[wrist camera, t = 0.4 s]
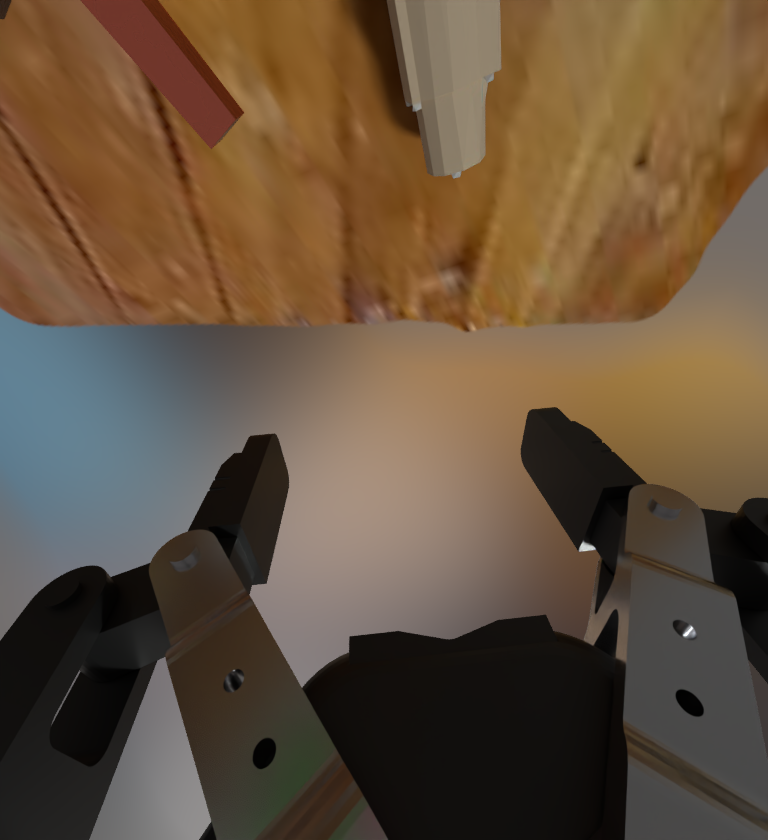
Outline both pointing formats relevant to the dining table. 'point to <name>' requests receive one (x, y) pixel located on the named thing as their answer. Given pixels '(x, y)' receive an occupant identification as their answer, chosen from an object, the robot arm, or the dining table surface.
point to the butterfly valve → (447, 74)
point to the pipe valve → (4, 8)
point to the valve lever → (170, 63)
